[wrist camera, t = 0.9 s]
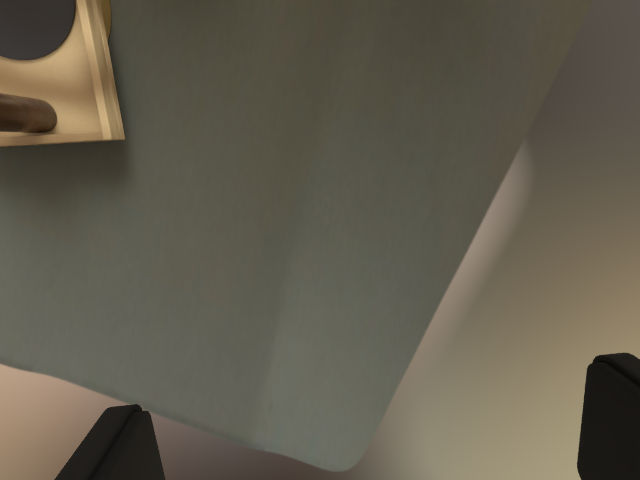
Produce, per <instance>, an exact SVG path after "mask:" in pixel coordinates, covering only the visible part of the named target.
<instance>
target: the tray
mask: <svg viewBox="0 0 640 480" xmlns="http://www.w3.org/2000/svg"><path fill="white" fill-rule="evenodd" d="M114 140H125V136H124V130H123V125H122V119H121V114H120V108H119V103H118V97H117V92H116V86H115V80H114V75H113V69H112V64H111V58H110V53H109V47H108V42H107V36H106V31H105V25H104V20H103V14H102V9H101V3H100V0H0V147H10V146H28V145H45V144H62V143H79V142H97V141H114Z"/></svg>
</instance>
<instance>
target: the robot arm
mask: <svg viewBox="0 0 640 480" xmlns="http://www.w3.org/2000/svg"><path fill="white" fill-rule="evenodd" d="M577 468H578V473H579V475H580V478H581V480H640V359H638V358H637V357H635V356H634V355H631V354H629V353H616V354H607V355H599V356H596V357H595V358H594V360H593V363H592V364H590V365H589V366H588V368H587V376H586V384H585V394H584V403H583V414H582V423H581V433H580V442H579V452H578V462H577ZM55 480H165V476H164V472H163V467H162V463H161V458H160V454H159V450H158V445H157V441H156V437H155V432H154V428H153V423H152V419H151V415H150V413H149V412H148V411H142V408H141V407H140V406H139V405H137V404H135V405H125V406H116V407H110V408H107V409H106V410H105V411H104V412H103V414H102V415H101V416H100V418H99V419H98V420H97V422H96V423H95V425H94V426H93V427H92V429H91V430H90V432H89V433H88V434H87V436H86V437H85V439H84V440H83V441H82V442H81V444H80V445H79V447H78V448H77V449H76V451H75V452H74V454H73V455H72V456H71V458H70V459H69V461H68V462H67V463H66V465H65V466H64V467H63V469H62V470H61V471H60V473H59V474H58V476H57V477H56V478H55Z"/></svg>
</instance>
